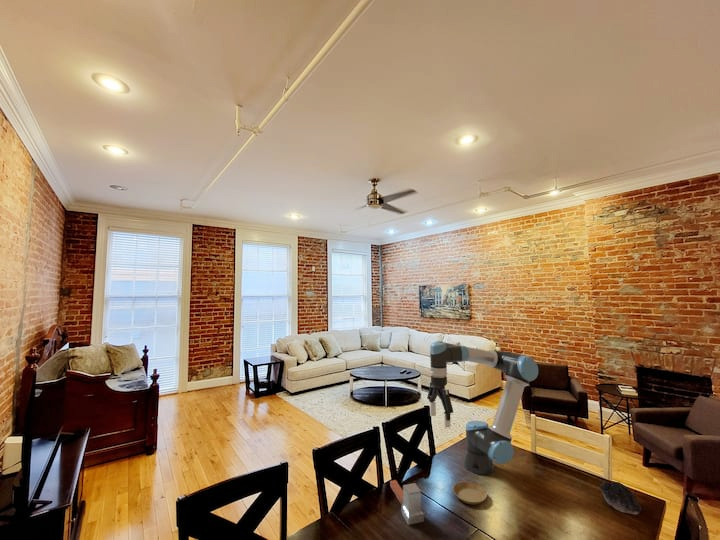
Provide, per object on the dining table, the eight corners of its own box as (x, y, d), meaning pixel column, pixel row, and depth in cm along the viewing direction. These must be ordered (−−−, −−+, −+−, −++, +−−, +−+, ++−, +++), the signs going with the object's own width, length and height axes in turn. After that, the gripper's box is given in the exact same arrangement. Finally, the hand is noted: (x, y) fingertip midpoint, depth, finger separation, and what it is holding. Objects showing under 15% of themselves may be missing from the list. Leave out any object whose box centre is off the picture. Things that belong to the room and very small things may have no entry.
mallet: (386, 486, 153) (386, 470, 154) (399, 484, 155) (399, 468, 155) (408, 524, 128) (407, 505, 129) (423, 521, 130) (423, 502, 130)
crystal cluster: (646, 508, 137) (642, 483, 139) (637, 519, 129) (634, 492, 131) (608, 495, 148) (606, 472, 150) (598, 504, 140) (595, 480, 142)
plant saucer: (470, 512, 135) (470, 506, 136) (446, 492, 149) (446, 487, 149) (494, 501, 142) (494, 495, 142) (469, 483, 155) (469, 478, 155)
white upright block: (403, 506, 135) (403, 485, 135) (415, 504, 136) (415, 483, 137) (408, 515, 129) (408, 493, 130) (421, 513, 131) (420, 490, 131)
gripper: (420, 370, 163) (421, 412, 161) (445, 383, 139) (446, 433, 137) (433, 369, 165) (434, 410, 163) (460, 382, 141) (461, 431, 139)
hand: (439, 421), depth 150 cm, fingers open, 13 cm apart
